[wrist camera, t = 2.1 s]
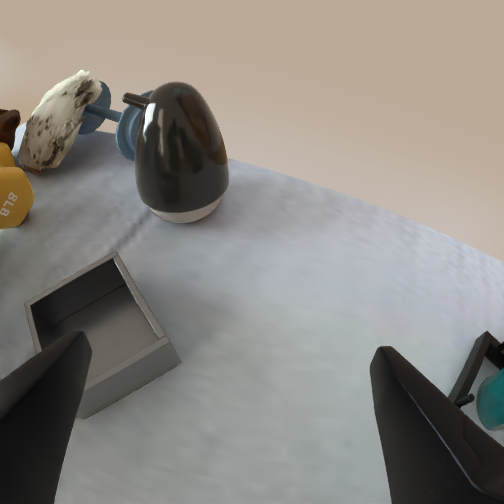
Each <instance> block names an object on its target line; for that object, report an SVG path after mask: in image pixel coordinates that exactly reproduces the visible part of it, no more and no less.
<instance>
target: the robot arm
mask: <svg viewBox="0 0 504 504" xmlns="http://www.w3.org/2000/svg"><path fill="white" fill-rule="evenodd" d="M91 358H92V348H91V346H90V343H89V341H88V338H87V336H86V333H85V332H84V331H81V330H75V329H73V330H71V331H69V332H68V333H66V334H65V335H64V336H62V337H61V338H59V339H58V340H56V341H55V342H54V343H52V344H51V345H49V346H48V347H46V348H45V349H44V350H42V351H41V352H39V353H38V354H37V355H35V356H34V357H32V358H31V359H30V360H28V361H27V362H25V363H24V364H23V365H21V366H20V367H19V368H17V369H16V370H14V371H13V372H12V373H10V374H9V375H8V376H6V377H5V378H4V379H2V380H1V381H0V504H54V501H55V496H56V491H57V486H58V482H59V477H60V473H61V469H62V465H63V461H64V457H65V453H66V449H67V446H68V442H69V438H70V435H71V431H72V428H73V425H74V421H75V418H76V415H77V412H78V409H79V405H80V402H81V399H82V396H83V392H84V388H85V383H86V379H87V375H88V370H89V366H90V362H91ZM370 377H371V385H372V393H373V402H374V410H375V416H376V421H377V426H378V430H379V435H380V440H381V445H382V450H383V455H384V460H385V465H386V471H387V477H388V482H389V489H390V495H391V501H392V504H504V447H503V446H502V445H501V444H499V443H498V442H497V441H495V440H494V439H493V438H492V437H490V436H489V435H488V434H487V433H486V432H484V431H483V430H482V429H481V428H480V427H479V426H478V425H476V424H475V423H474V422H473V421H472V420H471V419H470V418H469V417H468V416H467V415H464V413H463V412H462V411H461V410H460V409H459V408H458V407H457V406H456V405H455V404H454V403H453V402H452V401H451V400H450V399H449V398H448V397H446V396H445V395H444V394H443V393H442V392H441V391H440V390H439V389H438V388H437V387H436V386H435V385H434V384H432V383H431V382H430V381H429V380H428V379H427V378H426V377H425V376H424V375H423V374H422V373H420V372H419V371H418V370H417V369H416V368H415V367H414V366H413V365H412V364H411V363H410V362H408V361H407V360H406V359H405V358H404V357H403V356H402V355H401V354H400V353H399V352H397V351H396V350H395V349H394V348H393V347H391V346H380V347H378V348H377V350H376V353H375V355H374V357H373V359H372V362H371V364H370Z"/></svg>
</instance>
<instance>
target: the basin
mask: <svg viewBox="0 0 504 504" xmlns="http://www.w3.org/2000/svg"><path fill="white" fill-rule="evenodd" d="M24 305H25V310H26V314H27V319H28V323H29V327H30V331H31V335H32V339H33V342H34V346H35V349H36V353H37V354H38V353H39V352H41V351H42V350H44V349H45V348H46V347H48V346H49V345H51V344H52V343H54V342H55V341H56V340H58V339H59V338H61V337H62V336H64V335H65V334H66V333H68V332H69V331H71V330H73V329H75V330H81V331H84V332H85V333H86V336H87V338H88V341H89V343H90V346H91V348H92V358H91V362H90V366H89V370H88V375H87V379H86V383H85V388H84V392H83V396H82V399H81V402H80V405H79V409H78V412H77V415H76V417H78V418H81V419H85V418H87V417H89V416H90V415H92V414H94V413H96V412H98V411H100V410H101V409H103V408H105V407H107V406H109V405H110V404H112V403H114V402H116V401H118V400H119V399H121V398H123V397H125V396H126V395H128V394H130V393H132V392H133V391H135V390H137V389H139V388H140V387H142V386H144V385H145V384H147V383H149V382H151V381H152V380H154V379H156V378H157V377H159V376H161V375H162V374H164V373H166V372H167V371H169V370H171V369H172V368H174V367H176V366H177V365H179V364H180V363H181V361H180V359H179V357H178V355H177V353H176V351H175V350H174V348H173V346H172V344H171V342H170V340H169V339H168V337H167V336H166V334H165V332H164V331H163V329H162V328H161V326H160V325H159V323H158V321H157V320H156V318H155V317H154V315H153V313H152V312H151V310H150V309H149V307H148V305H147V304H146V302H145V300H144V299H143V297H142V295H141V294H140V292H139V290H138V288H137V287H136V285H135V283H134V281H133V280H132V278H131V276H130V274H129V273H128V271H127V269H126V267H125V265H124V264H123V262H122V260H121V258H120V256H119V254H118V252H117V251H115V252H113V253H111V254H109V255H107V256H105V257H104V258H102V259H100V260H98V261H96V262H94V263H93V264H91V265H89V266H87V267H85V268H84V269H82V270H80V271H78V272H77V273H75V274H73V275H71V276H70V277H68V278H66V279H64V280H63V281H61V282H59V283H58V284H56V285H54V286H52V287H51V288H49V289H47V290H46V291H44V292H42V293H41V294H39V295H37V296H36V297H34V298H33V299H31V300H29V301H28V302H26V303H25V304H24Z"/></svg>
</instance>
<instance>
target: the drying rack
mask: <svg viewBox="0 0 504 504" xmlns="http://www.w3.org/2000/svg"><path fill="white" fill-rule="evenodd" d="M485 356H486V357H487V358H488V359H489V360H490V361H491V362H492V363H493V364H494V365H495V366H497V367H498V368H499V369H501V368H503V367H504V342H503V343H500V342H499V341H498V340H497V339H495V338H494V337H493V336H492V335H491V334H490V333H489V332H488V331H486V332H485V333H483V334H482V335H481V336H480V337H478V338H477V339H476V341H475V344H474V346H473V348H472V351H471V353H470V355H469V357H468V359H467V361H466V364H465V366H464V368H463V370H462V372H461V374H460V376H459V378H458V380H457V382H456V384H455V385H454V387H453V389H452V391H451V393H450V395H449V397H448V398H449V399H450V400H451V401H452V402H453V403H454V404H455V405H456V406H457V407H458V408H459V409H460V408H461V407H462V406H464V405H466V404H468V403H470V402H472V401H473V400H474V395H473V394H469V395H468V393H469V391H470V388H471V386H472V384H473V382H474V380H475V378H476V376H477V373H478V371H479V369H480V366H481V364H482V362H483V359H484V357H485Z"/></svg>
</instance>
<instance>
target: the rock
mask: <svg viewBox="0 0 504 504" xmlns="http://www.w3.org/2000/svg"><path fill="white" fill-rule="evenodd" d="M89 73H90V72H89V71H88V72H86V73H85V72H84V70H81V71H79V72H78V73H76V74H75V75H73V76H71V77H70V78H67V79H65V80H64V81H63V82H60V83H58V84H56V85H55V86H54V87H53V88H52V89H51V90H50V91H48V92H46V93H45V95H44V96H43V98H42V100H41V102H40V105H39V106H38V107H36V108H35V109H34V110H33V113H32V115H31V116H30V119H29V120H28V121H27V124H26V130H25V133H24V136H23V140H22V143H21V146H20V150H19V154H18V158H19V164H20V166H21V167H22V168H23V170H26V171H30V172H31V173H33V174H41V172H42V171H43V168H44V169H46V168H57V167H58V165H59V164H60V162H61V161H62V159H63V158H64V156H65V155H66V154H67V153H68V151H69V150H70V148H71V146H72V145H73V143H74V141H75V139H76V136H77V134H78V132H79V129H80V126H81V124H82V122H83V121H84V119H85V118H86V116H85V117H82V116H81V115H82V112H83V110H84V108H86V107H87V106H88V105H91V104H94V103H96V100H97V99H98V97H99V95H100V93H101V92H102V87H101V83H100V82H99V81H98V80H97V79H91V80H89V81H88V79H89V76H88V75H89Z"/></svg>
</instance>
